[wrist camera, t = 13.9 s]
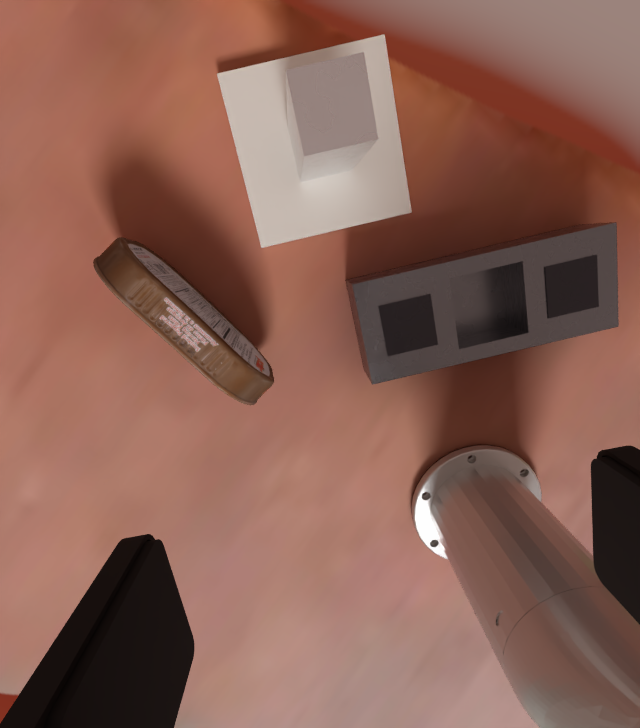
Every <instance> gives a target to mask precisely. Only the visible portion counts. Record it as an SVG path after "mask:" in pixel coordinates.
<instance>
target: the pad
mask: <svg viewBox="0 0 640 728" xmlns="http://www.w3.org/2000/svg"><path fill="white" fill-rule="evenodd" d="M361 52H364V55H365V61H366V67H367V73H368V79H369V85H370V91H371V97H372V103H373V109H374V115H375V121H376V128H377V134H378V140H377V141H376V143H375V144H374V145H373V146H372V147H371V148H370V150H369V151H368V152H367V153H366V154H365V156H364V157H363V158H362V159H361V160H360V161H359V163H358V164H357V165H356V166H355V167H354V169H353V170H351V171H347V172H342V173H338V174H334V175H330V176H325V177H321V178H317V179H313V180H308V181H304V182H300V179H299V175H298V170H297V166H296V161H295V157H294V152H293V148H292V143H291V139H290V134H289V129H288V125H287V98H286V70H288V69H293V68H297V67H301V66H305V65H310V64H314V63H318V62H322V61H327V60H331V59H335V58H339V57H344V56H348V55H352V54H357V53H361ZM217 76H218V80H219V84H220V87H221V91H222V95H223V99H224V103H225V107H226V111H227V115H228V119H229V123H230V127H231V130H232V134H233V138H234V142H235V146H236V150H237V154H238V158H239V162H240V166H241V169H242V173H243V177H244V181H245V185H246V189H247V193H248V197H249V201H250V205H251V208H252V212H253V216H254V220H255V224H256V228H257V232H258V236H259V240H260V244H261V248H263V247H268V246H272V245H276V244H280V243H285V242H289V241H293V240H297V239H302V238H306V237H310V236H314V235H319V234H323V233H327V232H331V231H335V230H340V229H344V228H348V227H352V226H357V225H361V224H365V223H369V222H374V221H378V220H382V219H386V218H391V217H395V216H399V215H403V214H408V213H412V211H411V204H410V198H409V191H408V185H407V178H406V171H405V165H404V158H403V152H402V145H401V139H400V132H399V126H398V119H397V112H396V106H395V99H394V93H393V86H392V80H391V73H390V67H389V60H388V53H387V47H386V40H385V35H384V34H383V35H379V36H375V37H371V38H366V39H362V40H358V41H354V42H349V43H345V44H341V45H337V46H332V47H328V48H324V49H320V50H315V51H311V52H307V53H303V54H298V55H294V56H290V57H286V58H281V59H277V60H273V61H269V62H264V63H260V64H256V65H252V66H247V67H243V68H239V69H235V70H230V71H226V72H222V73H218V74H217Z"/></svg>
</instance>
